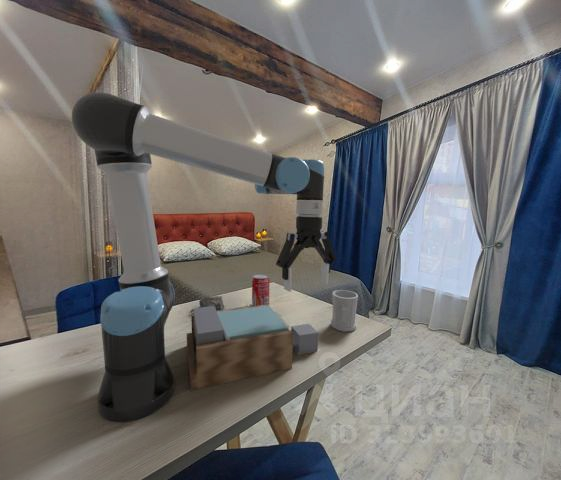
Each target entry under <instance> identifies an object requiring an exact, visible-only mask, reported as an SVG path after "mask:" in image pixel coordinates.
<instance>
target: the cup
mask: <svg viewBox="0 0 561 480" xmlns="http://www.w3.org/2000/svg"><path fill="white" fill-rule="evenodd" d="M331 294H332V295H331V296H332V297H331V298H332V317H331V318H332V319H331V320H330V325H331V327H332V328H333V329H335V331H336V330H337V331H340V332H346V333H347V332H348V331H349V332H352V331H354V330H356V329H357V322H356V314H357V306H358V301H359V295H358V293H357V292H354V291H352V290H347V289H346V290H345V289H339V290H338V289H337V290H334V291H332V293H331ZM349 332H348V333H349Z"/></svg>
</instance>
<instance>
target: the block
mask: <svg viewBox="0 0 561 480" xmlns="http://www.w3.org/2000/svg"><path fill="white" fill-rule="evenodd" d="M290 327H291V328H290V330H291V331H292V332H293V347H292V349H294V351H295V352H296V353H297V355H298V356H299V355H305V354H310V353H315V352H318V347H319V346H318V345H319V344H318V343H319V332H318V331H317V329H315V328H314V327H313V326H312V324H310V323H304V324H298V325H291V326H290Z"/></svg>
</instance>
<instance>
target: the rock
mask: <svg viewBox="0 0 561 480" xmlns="http://www.w3.org/2000/svg"><path fill="white" fill-rule="evenodd" d="M209 306H215V309H216V311H217V310H224V308H225V305H224V302H223V296H222V295H220V296H219V295H205V296H203V297H202V298H200V299H199V307H209Z"/></svg>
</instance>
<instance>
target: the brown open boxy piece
mask: <svg viewBox="0 0 561 480" xmlns="http://www.w3.org/2000/svg"><path fill="white" fill-rule="evenodd" d="M261 306H270V304H269V305H268V304H266V305H258V306H253V305H252V306H243V307H237V308H236V307H235V308H228V309H227V308H226V309H223V310H217V311H219V312H221V311H229V310H237V309H245V308H253V307H261ZM190 316H191V318H190V321H191V332H187V333H186V351H187V360H188V361H187V362H188V363H187V364H188V375H189V387H190V391H195V390H200V389H203V388H208V387H213V386H217V385H221V384H222V385H223V384H227V383H231V382H236V381H241V380H245V379H250V378H255V377H259V376H263V375H268V374H273V373H277V372H281V371H285V370H290V369H291V370H292V368H293V332H292V331H291V329H289V331H283V332H277V333H271V334H265V335H258V336H252V337H246V338H240V339H234V340H228V341H226V340H225V337H224V334H223V341H222V342H216V343H210V344H204V345H197V343H196V336H195V330H194V316H193V313H191V315H190ZM194 348H195V349H194Z"/></svg>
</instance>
